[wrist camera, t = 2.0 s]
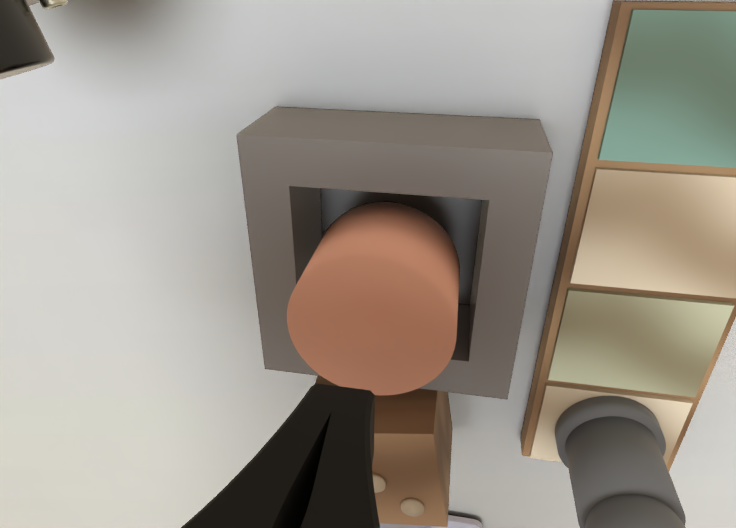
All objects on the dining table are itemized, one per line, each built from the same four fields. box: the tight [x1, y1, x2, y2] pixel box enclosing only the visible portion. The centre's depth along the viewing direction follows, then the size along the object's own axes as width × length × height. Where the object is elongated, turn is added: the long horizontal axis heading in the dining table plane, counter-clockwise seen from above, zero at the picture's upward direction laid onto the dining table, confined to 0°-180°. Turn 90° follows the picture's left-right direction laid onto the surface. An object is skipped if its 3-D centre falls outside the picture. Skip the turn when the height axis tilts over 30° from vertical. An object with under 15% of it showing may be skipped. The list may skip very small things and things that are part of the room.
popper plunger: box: [287, 202, 460, 395], centre depth 16 cm, size 5×5×4 cm
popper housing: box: [237, 107, 553, 399], centre depth 19 cm, size 9×9×4 cm
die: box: [315, 376, 452, 527], centre depth 22 cm, size 5×5×5 cm
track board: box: [521, 1, 736, 472], centre depth 19 cm, size 18×6×1 cm, turn 0°
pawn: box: [555, 396, 686, 528], centre depth 19 cm, size 4×4×6 cm
